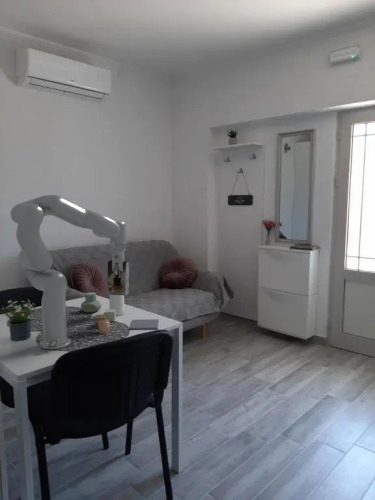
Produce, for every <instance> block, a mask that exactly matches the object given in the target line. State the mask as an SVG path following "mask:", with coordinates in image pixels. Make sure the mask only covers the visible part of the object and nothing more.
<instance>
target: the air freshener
mask: <svg viewBox="0 0 375 500" xmlns="http://www.w3.org/2000/svg"><path fill="white" fill-rule="evenodd" d="M101 308H102V303H101V301H99V300H97V293H96V292H93V291H92V292H85V293H84V301H83V302H82V303H81V304H80V309H81V310H82V311H83V312H85V313H87V314H90V313H91V314H92V313H96V312H98V311H99V310H100V309H101Z"/></svg>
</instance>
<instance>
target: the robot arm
mask: <svg viewBox="0 0 375 500" xmlns="http://www.w3.org/2000/svg"><path fill="white" fill-rule="evenodd" d="M46 216H53V217H56V218H58V219H60V220H62V221H63V222H66V223H69V224H70V225H73V226H74V227H77V228H80V229H81V228H82V229H88V230H91V232H92V233H93V235H94V236H96V237H98V238H103V239H105V238H107V239H109V251H111V252H112V253H111V260H112V269H113V272H114V286H121V277H120V271H122V272H123V262H124V260H126V257H125V251H126V250H127V229H126V228H127V227H126V222H125V221H119V220H115V221H114V220H113V219H111V218H109V217H107V216H105V215H102V214H100V213H97V212H95V211H92V210H89V209H88V208H84V207H82V206H80V205H78V204H76V203H75V202H73V201H70V200H68V199H67V198H65V197H62V196H61V195H57V194H45V195H41V196H39V197H35V198H32V199H29V200H26V201H23V202H20V203H17V204H15V205H14V206H13V207H12V208H11V210H10V217H11V220H12V221H13V222H14V223H15V224H17V227H16V236H15V237H16V240H17V243H18V246H19V248H20V249H21V251H20V252H19V254H18V262H19V265H20V268H21V269H22V271H23V273H24V275H25V276H26V278H27V279H28V281H29V283H30V284H31V286H32V287H34V288H35V289H37V290H39V291H42V292H43V293H42V298H41V306H40V307H41V321H42V340H41V341H40V342H39V347H40V348H41V349H43V350H58V349H59V350H60V349H63V348H66V347H68V346H70V345H71V343H72V339H71V338H70V337H68V330H67V328H68V327H67V326H68V325H67V306H66V305H67V304H66V303H67V301H66V298H67V297H66V295H67V294H66V292H67V287H68V280H67V277H66V276H65V275H64V274H63V273H62V272H60V271H59V270H56V269H51V267H52V265H53V258H52V256H51V255H52V254H51V253H50V252H49V250H48V248H47V246H46V244H45V242H44V241H43V238H42V237H41V234H40V229H41V225H42V223H43V221H44V217H46ZM118 269H119V271H118Z"/></svg>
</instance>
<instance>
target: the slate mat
mask: <svg viewBox="0 0 375 500" xmlns="http://www.w3.org/2000/svg"><path fill="white" fill-rule="evenodd" d="M129 330H132V331H133V330H134V331H135V330H159V319H154V318H153V319H132V321H131V324H130V326H129Z"/></svg>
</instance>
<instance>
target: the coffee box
mask: <svg viewBox="0 0 375 500" xmlns="http://www.w3.org/2000/svg"><path fill="white" fill-rule="evenodd" d="M118 271H119V269H118ZM120 277H121V286H114V272H113V269H112V259H110V260H108V261H107V296H109V295H124V296H127V295H129V293H130V291H129V289H130V285H129V284H130V283H129V282H130V281H129V280H130V260H126V259H125V260H124V262H123V272H122V271H120Z"/></svg>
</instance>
